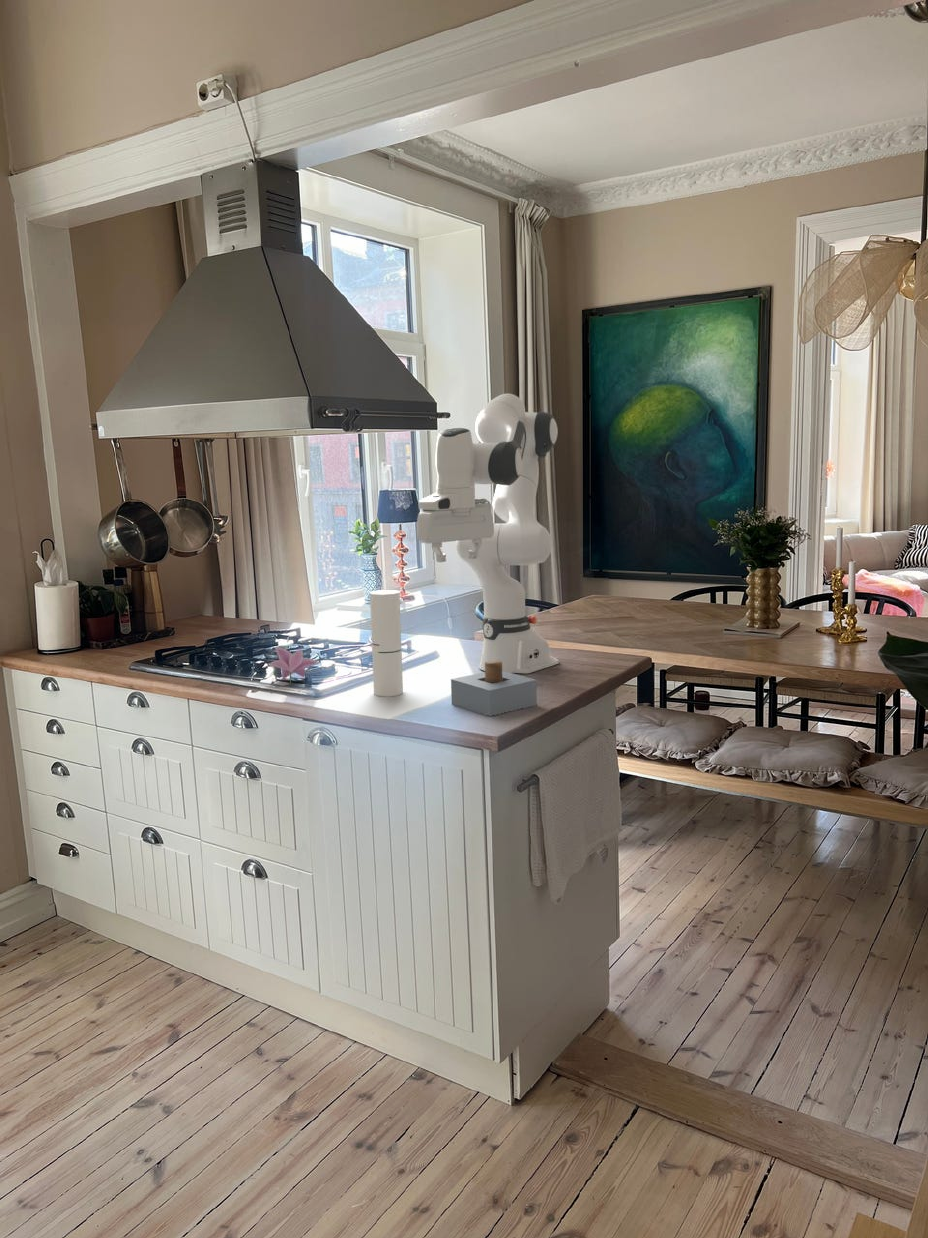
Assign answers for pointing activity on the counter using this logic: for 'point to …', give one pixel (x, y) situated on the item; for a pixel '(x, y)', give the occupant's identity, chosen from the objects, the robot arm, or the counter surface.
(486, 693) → the socket block
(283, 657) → the lily
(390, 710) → the counter surface
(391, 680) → the cylindrical container
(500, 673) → the walnut peg
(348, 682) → the counter surface
